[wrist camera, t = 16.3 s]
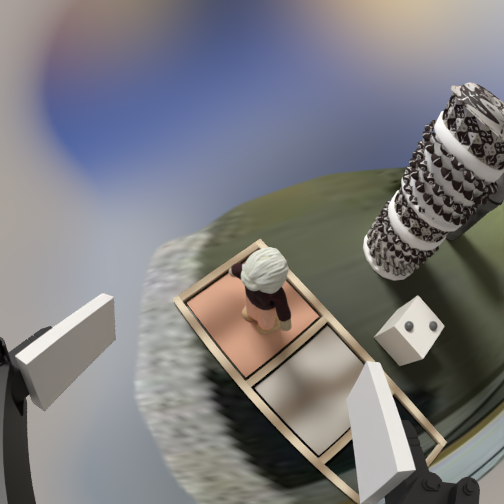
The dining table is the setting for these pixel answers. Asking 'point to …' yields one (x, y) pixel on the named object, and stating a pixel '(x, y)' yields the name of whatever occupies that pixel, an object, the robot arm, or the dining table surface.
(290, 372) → the wooden flat rectangular frame
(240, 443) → the dining table surface
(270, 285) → the grandmother figurine
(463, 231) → the beverage cup
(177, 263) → the dining table surface
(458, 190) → the decorative candle
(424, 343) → the ivory die
